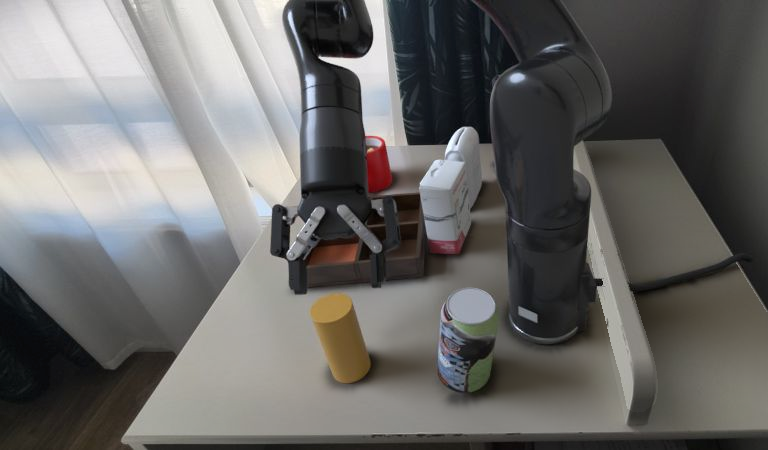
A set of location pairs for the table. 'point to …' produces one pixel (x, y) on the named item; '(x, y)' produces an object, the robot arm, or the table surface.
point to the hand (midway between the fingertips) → (339, 291)
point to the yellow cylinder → (341, 337)
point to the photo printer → (467, 158)
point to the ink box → (446, 206)
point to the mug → (377, 164)
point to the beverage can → (467, 339)
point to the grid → (352, 255)
